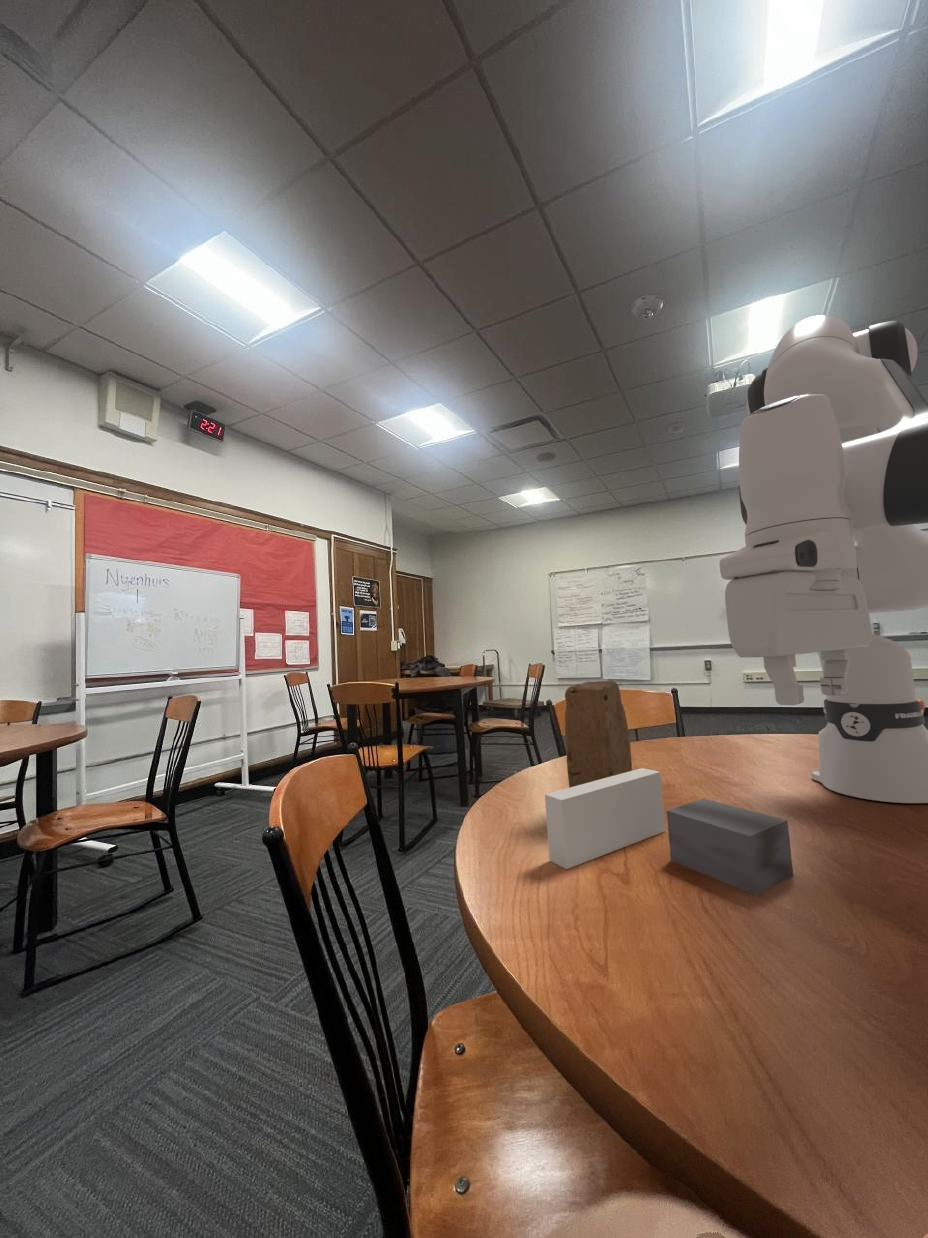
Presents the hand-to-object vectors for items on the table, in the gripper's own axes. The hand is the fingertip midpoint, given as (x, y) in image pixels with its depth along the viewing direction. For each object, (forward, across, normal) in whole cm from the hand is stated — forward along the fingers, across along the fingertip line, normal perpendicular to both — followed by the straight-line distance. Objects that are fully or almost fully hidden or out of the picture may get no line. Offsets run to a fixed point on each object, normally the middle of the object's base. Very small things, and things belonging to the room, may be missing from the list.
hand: (813, 699), depth 47 cm
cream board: (+20, +5, -23) cm, 31 cm away
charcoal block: (+20, 0, -10) cm, 22 cm away
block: (+20, -4, -33) cm, 39 cm away
